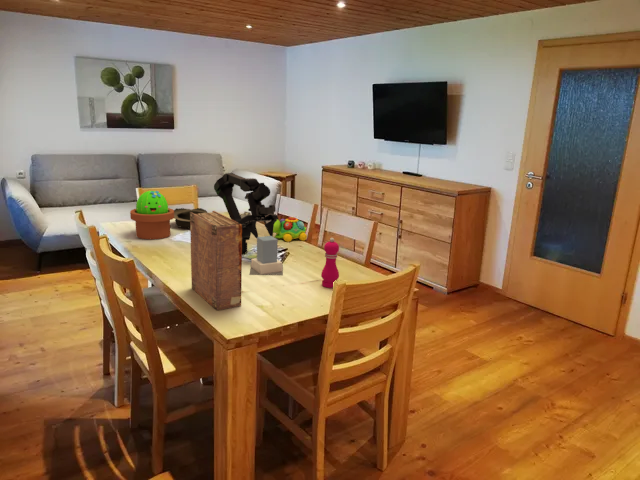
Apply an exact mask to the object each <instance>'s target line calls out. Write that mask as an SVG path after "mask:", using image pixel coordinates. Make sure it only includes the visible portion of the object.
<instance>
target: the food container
mask: <svg viewBox="0 0 640 480" xmlns="http://www.w3.org/2000/svg"><path fill="white" fill-rule="evenodd" d="M247 215H252V214H251V211H243V213H240V216H241V218H243V217H245V216H247Z"/></svg>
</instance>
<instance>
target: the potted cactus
mask: <svg viewBox="0 0 640 480" xmlns="http://www.w3.org/2000/svg"><path fill="white" fill-rule="evenodd" d="M135 202H136V205H135V208H134V209H131V210H130V212H129V216H130V220H132V221H134V222H135V236H136V237H137V238H138V239H140V240H141V239H142V240H162V239H166V238H169V237H170V236H171V220H174V210H175V209H172V208H170V207H169V205H168V201H167V200H166V197H165V195H163V194H162V193H161V192H160V191H158V190H148V191H147V190H145V191H144V192H142V193H141V195H140V196H139V197H138V198H137V201H135Z"/></svg>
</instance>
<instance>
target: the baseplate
mask: <svg viewBox="0 0 640 480" xmlns="http://www.w3.org/2000/svg"><path fill="white" fill-rule="evenodd" d="M283 273H284V265H283V264H282V272H274V273H267V274H259V273H258V272H257V271H255V270H254V269H253V268H251V267H250V269H249V274H248V275H249V276H284V274H283Z"/></svg>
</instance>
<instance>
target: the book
mask: <svg viewBox="0 0 640 480" xmlns="http://www.w3.org/2000/svg"><path fill="white" fill-rule="evenodd" d="M189 233H190V265H191V268H190V270H191V271H190V272H191V273H190V274H191V290H193V291H195V293H197V294H198V296H200V297H201V298H202V299H203V300H204V301H206V302H207V303H208V304H209V305H210V306H211V307H212V308H213V309H214V310H216V311H221V310H225V309H227V310H228V309H230V308H231V309H232V308H236V307H241V306H242V276H243V275H242V267H243V266H242V263H243V261H242V260H243V259H242V258H243V257H242V256H243V254H242V224H240V223H238V222H236V221H234V220H232V219H231V218H230V217H227V216H225V215H224V214H222V213H220V212H217V211H216V210H212V211H211V212H208V213H199V214H194V213H192V212H190V231H189Z"/></svg>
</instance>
